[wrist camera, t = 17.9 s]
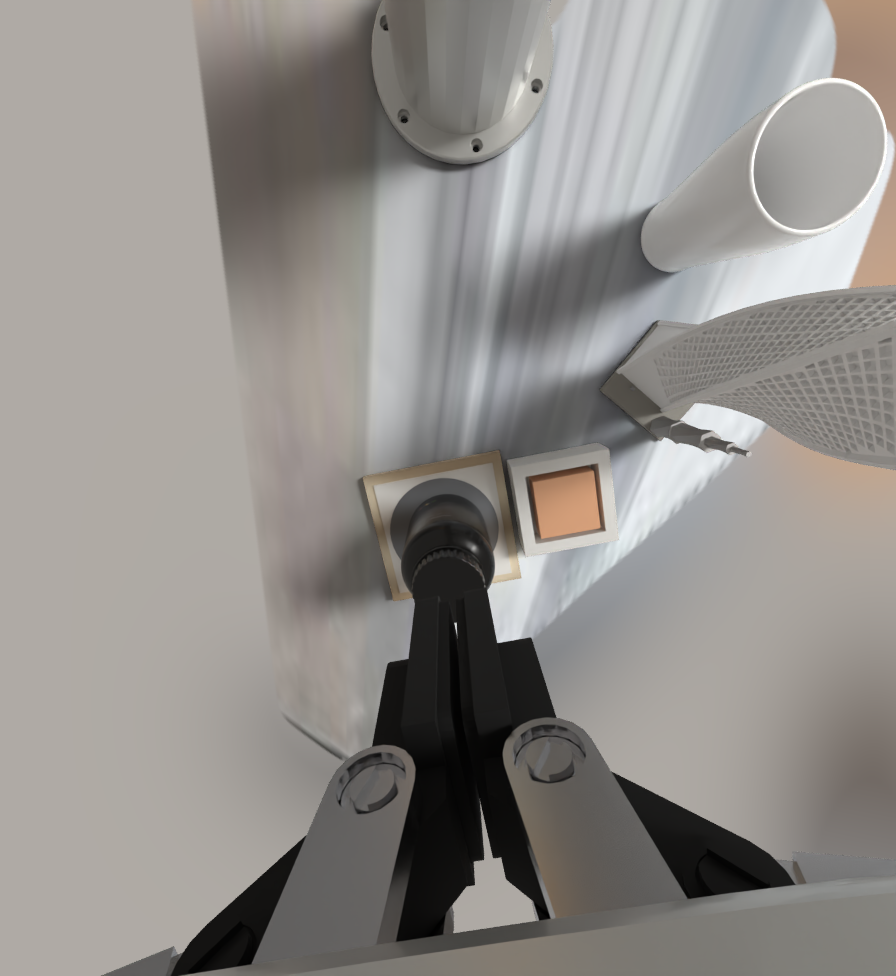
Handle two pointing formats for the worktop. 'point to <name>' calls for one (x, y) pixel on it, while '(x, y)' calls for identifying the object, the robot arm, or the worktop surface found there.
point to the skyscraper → (775, 374)
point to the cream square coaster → (462, 476)
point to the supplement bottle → (447, 550)
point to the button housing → (557, 461)
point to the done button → (564, 502)
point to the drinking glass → (774, 179)
